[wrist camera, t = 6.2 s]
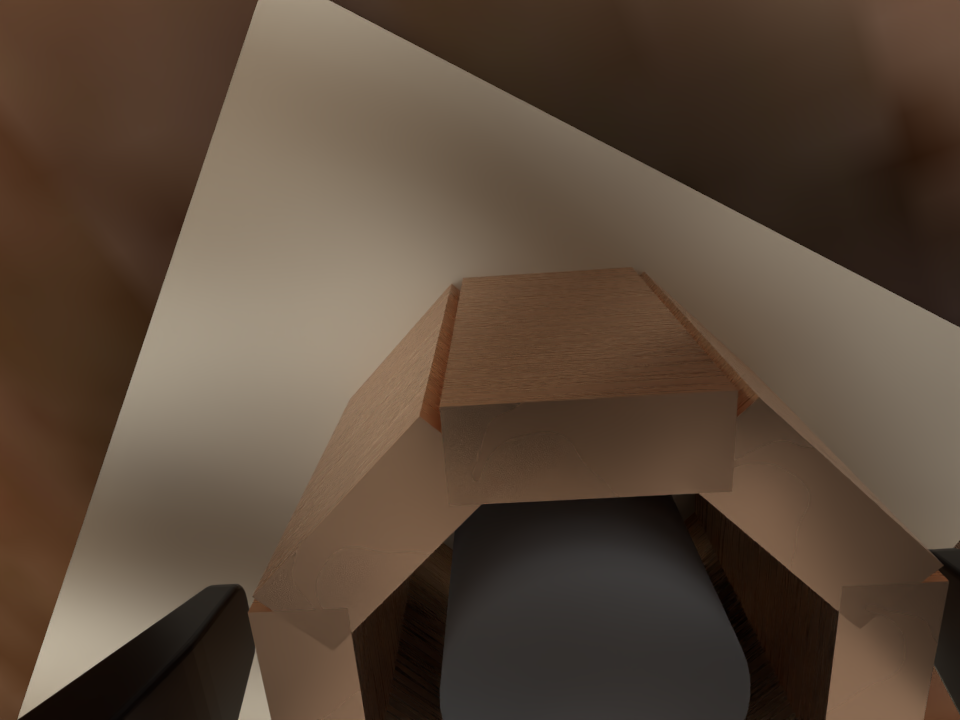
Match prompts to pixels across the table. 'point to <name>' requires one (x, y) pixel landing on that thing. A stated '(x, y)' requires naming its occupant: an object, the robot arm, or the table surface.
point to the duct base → (393, 313)
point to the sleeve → (587, 475)
